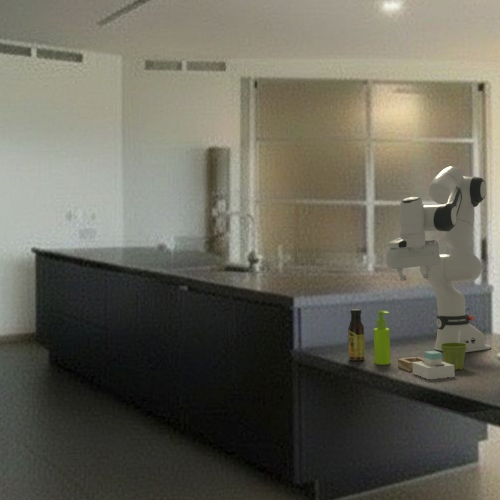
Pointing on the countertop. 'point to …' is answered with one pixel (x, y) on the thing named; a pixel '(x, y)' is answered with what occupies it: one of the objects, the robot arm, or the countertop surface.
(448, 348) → the plant pot
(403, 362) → the brown wooden square frame
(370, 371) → the countertop surface
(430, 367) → the port
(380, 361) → the soap dispenser
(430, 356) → the plug
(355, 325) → the sauce bottle
